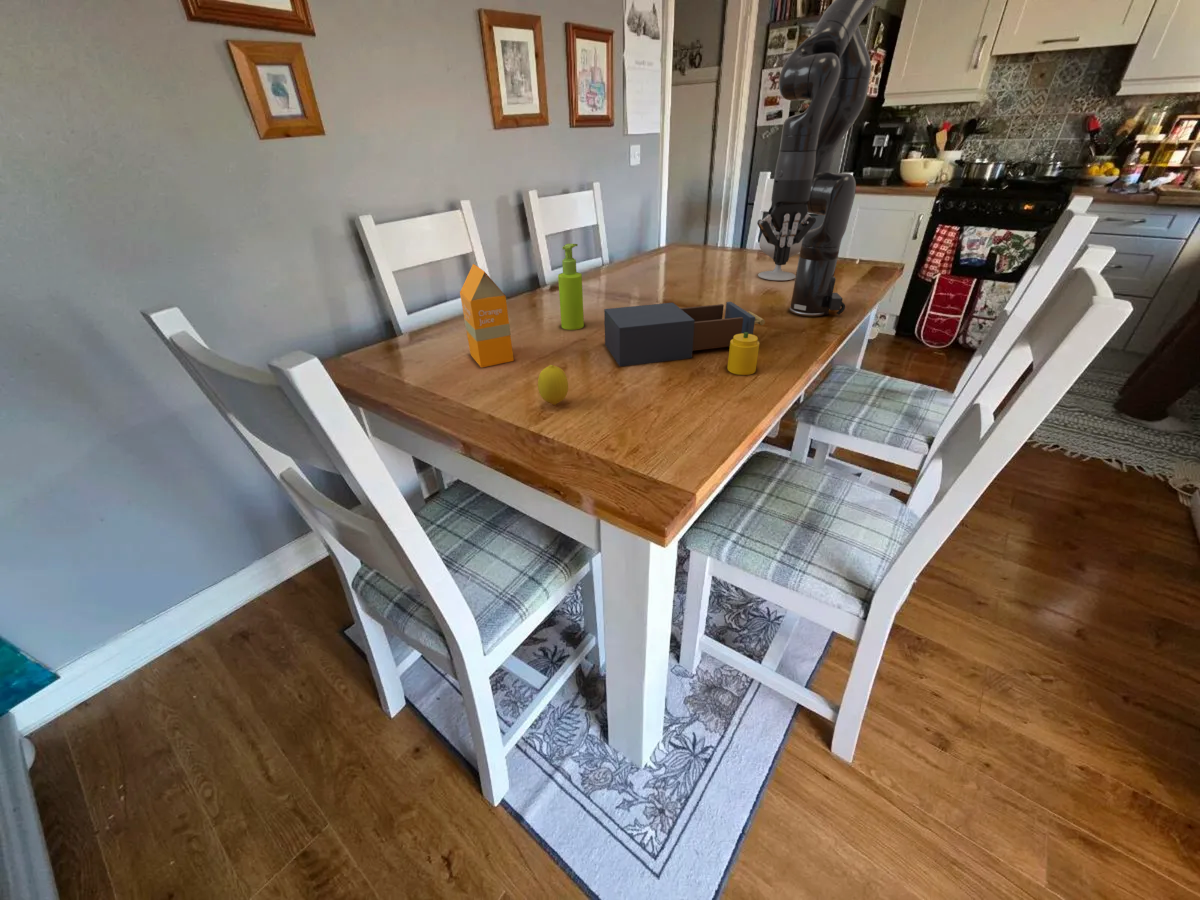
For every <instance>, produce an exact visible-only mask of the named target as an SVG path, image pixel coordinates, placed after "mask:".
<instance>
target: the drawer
mask: <svg viewBox="0 0 1200 900" xmlns="http://www.w3.org/2000/svg"><path fill="white" fill-rule="evenodd" d="M679 308H680V309H681V310H683V311H684V312H685V313H686V314H688V315H689V316H690V317H691V318H693V319H694V320H695V323H694V336H693V349H692V352H693V351H701V350H709V349H719V348H729V347H730V341H731V340H732V339H733V337H734V335H736V334H744V332H748V334H752V335H754V329H755V325H759V326H764V325H765V324H766V320H765V319H764V318H763V317H761V316H759V315H757V314H756V313H754V312H752V311H751V310H750V311H749V310H748V311H747V310H745V309H743V308H742V307H740V306H739V305H737V304H735V303H734V302H733V301H726V303H725V307H724V304H723V303H718V304H710V305H700V306H699V305H698V306H688V307H679ZM724 308H725V312H724ZM723 315H724V318H723Z"/></svg>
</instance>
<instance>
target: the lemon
mask: <svg viewBox="0 0 1200 900" xmlns="http://www.w3.org/2000/svg"><path fill="white" fill-rule="evenodd" d="M537 389H538V394H539V395H540V397H541V399H542V400H544V401H545V402H546V403H548V404H551V405H553V406H556V405H558V404H559V403H561V402H562V401H564V400H565V398H566V397H567V394H568V392H569V380H568V378H567V375H566V373H565V371H564V370H563V368H561V367H559V366H557V365H554V364H549V365H548V366H546V367H545V368H543V369H542V370H541V371H540V372H539V374H538V379H537Z"/></svg>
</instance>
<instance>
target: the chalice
mask: <svg viewBox="0 0 1200 900" xmlns="http://www.w3.org/2000/svg"><path fill="white" fill-rule="evenodd" d="M797 228H798V227H797ZM771 229H772V231H773V233H774V225H771ZM801 244H802V240H801V241H800V242H799V243H795V244H793V245H792V246H791V248H790V254H789V259H790V258H791V257H794V256H796V255H798V254H800V249H801ZM758 245H759V249H760V250H761V252H763V253H764V254H765V255H767V256H768V257H769V258H771V259H772V260H773V257H774V250H775V246H774V245H772V244H769V243H768V242H767V241H766V239H765V237H764V235H763V233H762V232H761V235H760V238H759V244H758ZM774 264H775V263H774ZM774 266H775V267H774V268H773V270H765V271H761V272H759V273H758V274H757V276H758V277H759V278H760V279H764V280H769V281H790V280H795V278H796V273H793V272H790V271H785V270H782V265H776V264H775V265H774Z"/></svg>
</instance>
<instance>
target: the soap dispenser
mask: <svg viewBox="0 0 1200 900" xmlns="http://www.w3.org/2000/svg"><path fill="white" fill-rule="evenodd" d="M575 247H578V243H566V244H563V246H562V250H564V256H565V257H564V258H563V259H562V260H561V263H562V265H561V266H562V272H561V273H559V274H557V282H558V295H559V308H560V309H559V311H560V324H561V325H560V327H561V328H562V329H563V330H569V331H576V330H580V329H583V328H584V326H585V320H584V319H585V317H584V295H583V274H582V272H577V259H576V258H574V257H573V248H575Z"/></svg>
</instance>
